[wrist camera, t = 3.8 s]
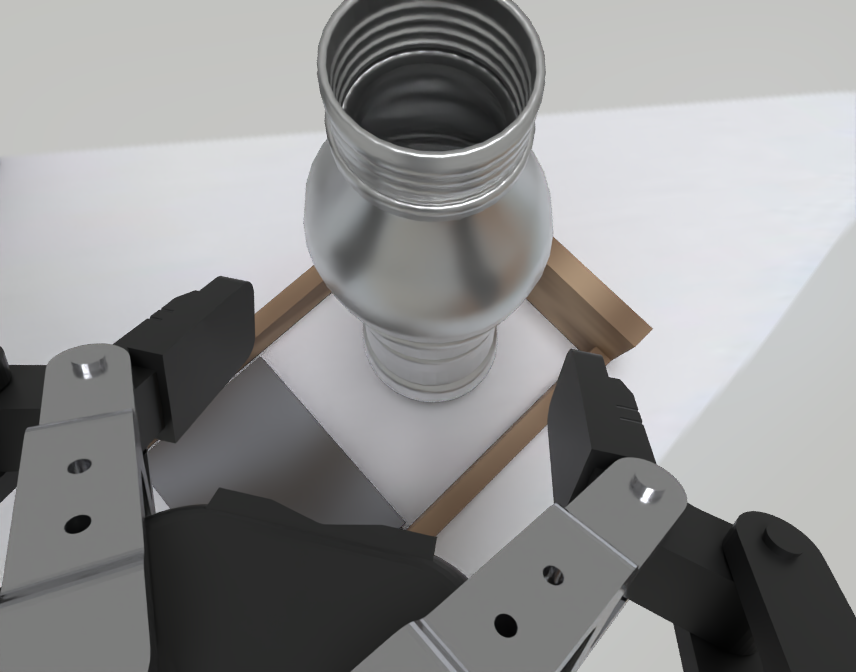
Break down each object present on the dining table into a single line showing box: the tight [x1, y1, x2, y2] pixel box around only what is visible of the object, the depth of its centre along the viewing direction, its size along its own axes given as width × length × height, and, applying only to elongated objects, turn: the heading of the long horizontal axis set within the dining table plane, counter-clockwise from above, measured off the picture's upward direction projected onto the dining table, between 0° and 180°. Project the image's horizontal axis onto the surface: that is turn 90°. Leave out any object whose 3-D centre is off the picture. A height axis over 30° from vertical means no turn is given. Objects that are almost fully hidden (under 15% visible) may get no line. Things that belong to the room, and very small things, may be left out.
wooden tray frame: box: [147, 237, 653, 537], centre depth 24 cm, size 14×22×5 cm, turn 133°
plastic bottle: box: [303, 0, 553, 402], centre depth 18 cm, size 6×7×20 cm
